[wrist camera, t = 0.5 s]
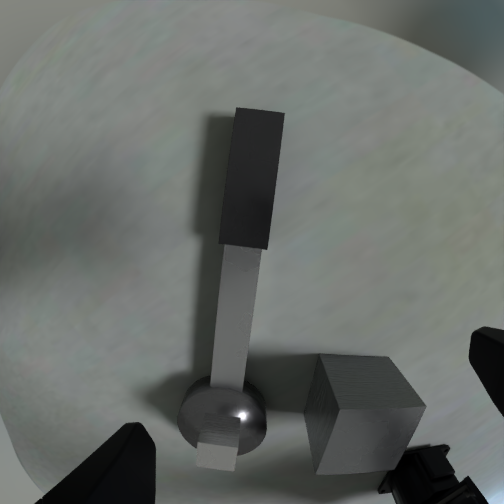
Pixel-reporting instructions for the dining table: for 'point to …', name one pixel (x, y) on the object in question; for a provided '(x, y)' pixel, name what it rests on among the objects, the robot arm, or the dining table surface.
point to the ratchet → (237, 299)
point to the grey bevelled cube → (359, 414)
